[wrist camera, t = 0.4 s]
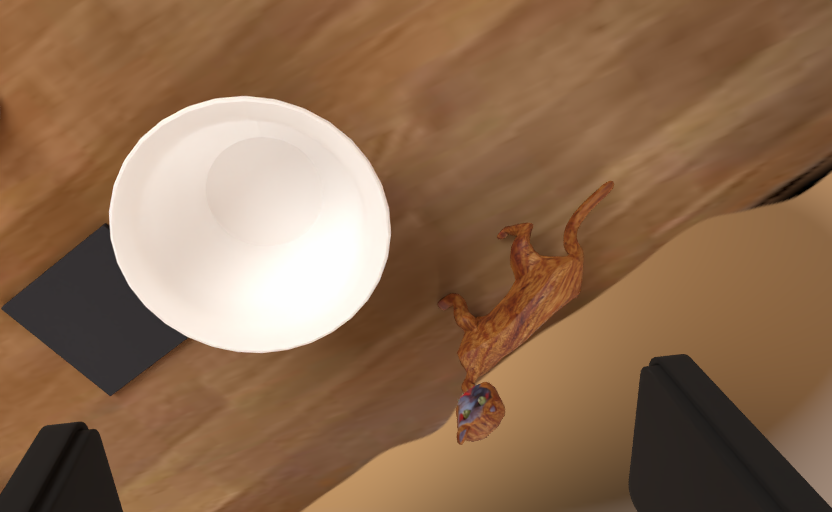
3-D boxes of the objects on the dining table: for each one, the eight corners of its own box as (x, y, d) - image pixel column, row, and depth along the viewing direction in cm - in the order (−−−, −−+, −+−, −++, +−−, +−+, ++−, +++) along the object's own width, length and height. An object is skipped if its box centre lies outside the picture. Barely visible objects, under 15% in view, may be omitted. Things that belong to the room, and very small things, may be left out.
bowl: (160, 294, 48) (128, 359, 40) (130, 69, 41) (85, 94, 34) (379, 289, 50) (388, 349, 42) (382, 74, 43) (394, 99, 36)
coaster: (3, 305, 47) (0, 308, 46) (105, 222, 45) (103, 225, 45) (112, 392, 51) (110, 396, 50) (209, 319, 49) (208, 322, 49)
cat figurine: (579, 146, 47) (669, 213, 35) (632, 204, 50) (734, 286, 37) (405, 312, 51) (430, 426, 39) (462, 359, 53) (504, 479, 41)
